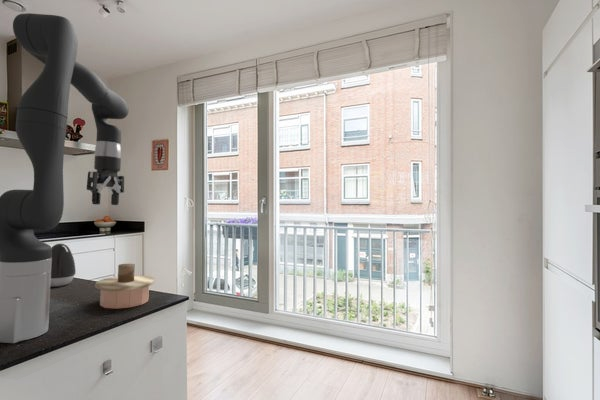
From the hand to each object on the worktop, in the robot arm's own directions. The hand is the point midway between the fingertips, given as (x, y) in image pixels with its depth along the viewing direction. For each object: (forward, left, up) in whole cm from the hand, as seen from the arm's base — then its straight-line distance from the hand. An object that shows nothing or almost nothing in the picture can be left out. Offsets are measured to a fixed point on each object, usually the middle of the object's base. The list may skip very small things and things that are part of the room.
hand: (105, 204), depth 105 cm
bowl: (-5, -12, -30) cm, 33 cm away
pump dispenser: (+8, +24, -30) cm, 39 cm away
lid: (-5, -12, -25) cm, 28 cm away
